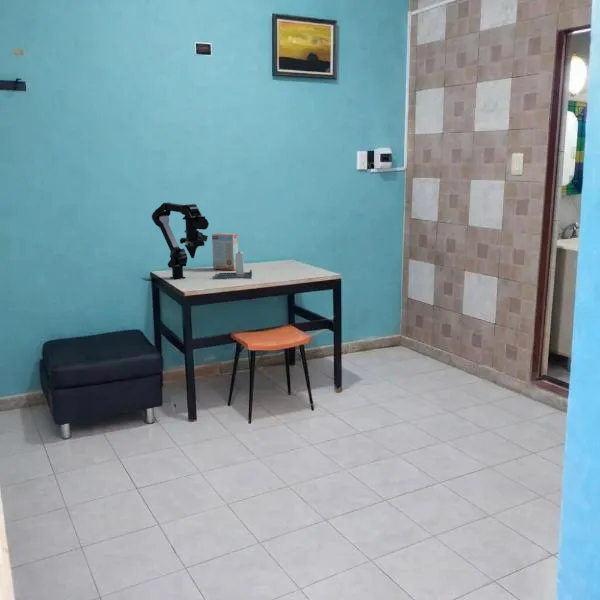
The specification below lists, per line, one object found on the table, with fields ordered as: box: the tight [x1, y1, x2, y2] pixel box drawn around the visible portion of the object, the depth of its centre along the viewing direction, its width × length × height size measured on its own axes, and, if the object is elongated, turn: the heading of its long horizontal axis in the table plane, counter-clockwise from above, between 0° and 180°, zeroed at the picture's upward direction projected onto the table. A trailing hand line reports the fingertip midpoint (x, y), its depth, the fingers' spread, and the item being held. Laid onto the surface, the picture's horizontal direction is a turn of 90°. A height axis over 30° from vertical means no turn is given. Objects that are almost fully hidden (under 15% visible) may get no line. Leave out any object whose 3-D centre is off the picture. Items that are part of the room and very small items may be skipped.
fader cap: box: [235, 250, 245, 275], centre depth 352 cm, size 4×5×13 cm
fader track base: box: [213, 269, 253, 280], centre depth 353 cm, size 20×10×3 cm, turn 93°
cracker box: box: [211, 232, 239, 271], centre depth 376 cm, size 14×6×21 cm, turn 65°
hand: (192, 258), depth 341 cm, fingers closed
